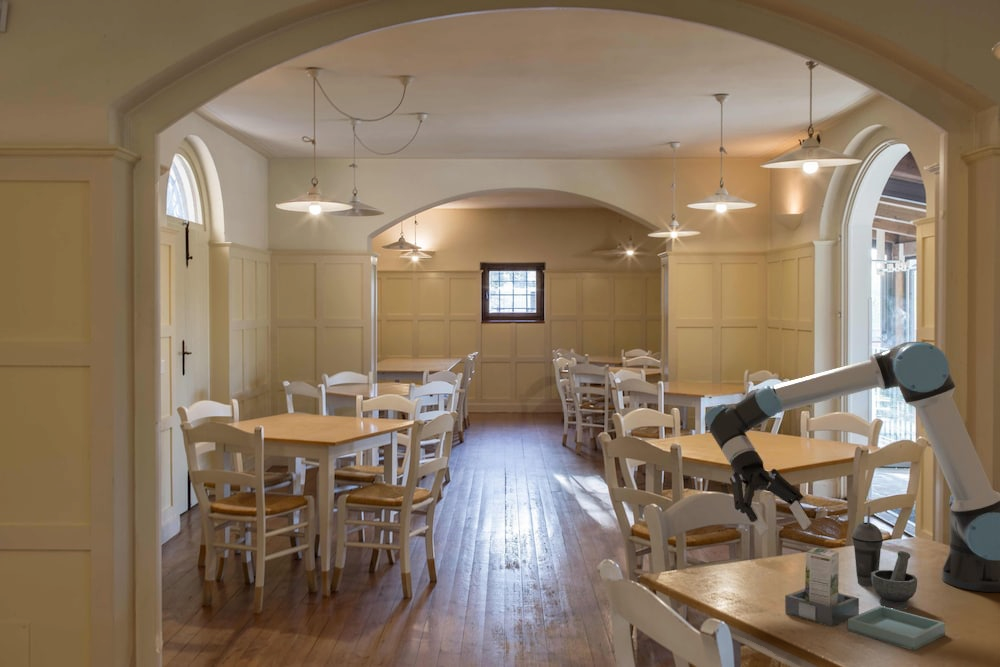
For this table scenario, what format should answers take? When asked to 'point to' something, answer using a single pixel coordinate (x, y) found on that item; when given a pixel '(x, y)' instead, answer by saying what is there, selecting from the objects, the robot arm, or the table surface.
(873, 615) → the tray
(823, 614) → the square open bin
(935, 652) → the table surface
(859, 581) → the beverage cup
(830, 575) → the syrup box
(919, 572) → the table surface
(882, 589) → the mortar and pestle
